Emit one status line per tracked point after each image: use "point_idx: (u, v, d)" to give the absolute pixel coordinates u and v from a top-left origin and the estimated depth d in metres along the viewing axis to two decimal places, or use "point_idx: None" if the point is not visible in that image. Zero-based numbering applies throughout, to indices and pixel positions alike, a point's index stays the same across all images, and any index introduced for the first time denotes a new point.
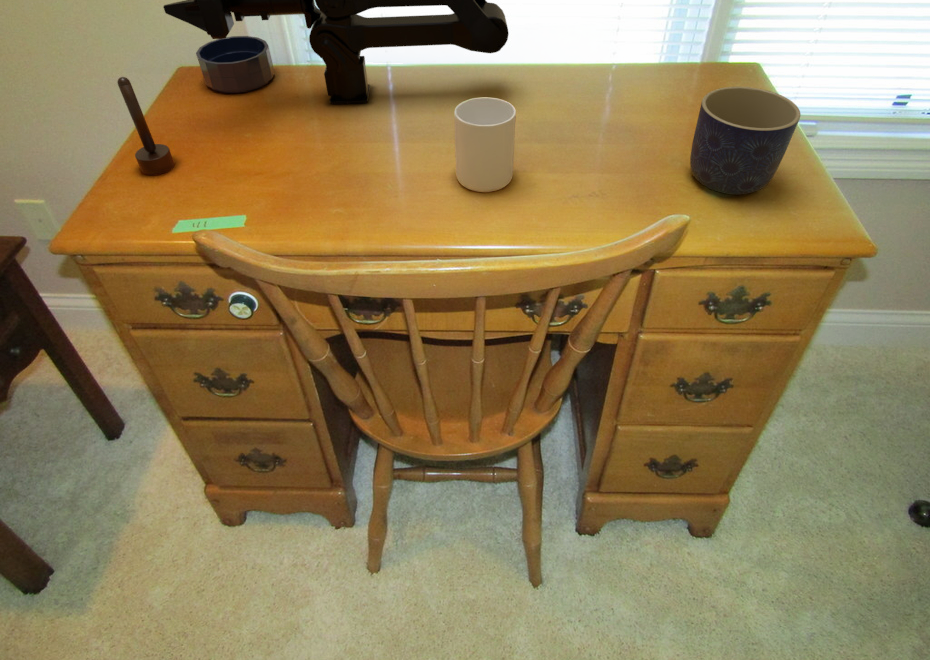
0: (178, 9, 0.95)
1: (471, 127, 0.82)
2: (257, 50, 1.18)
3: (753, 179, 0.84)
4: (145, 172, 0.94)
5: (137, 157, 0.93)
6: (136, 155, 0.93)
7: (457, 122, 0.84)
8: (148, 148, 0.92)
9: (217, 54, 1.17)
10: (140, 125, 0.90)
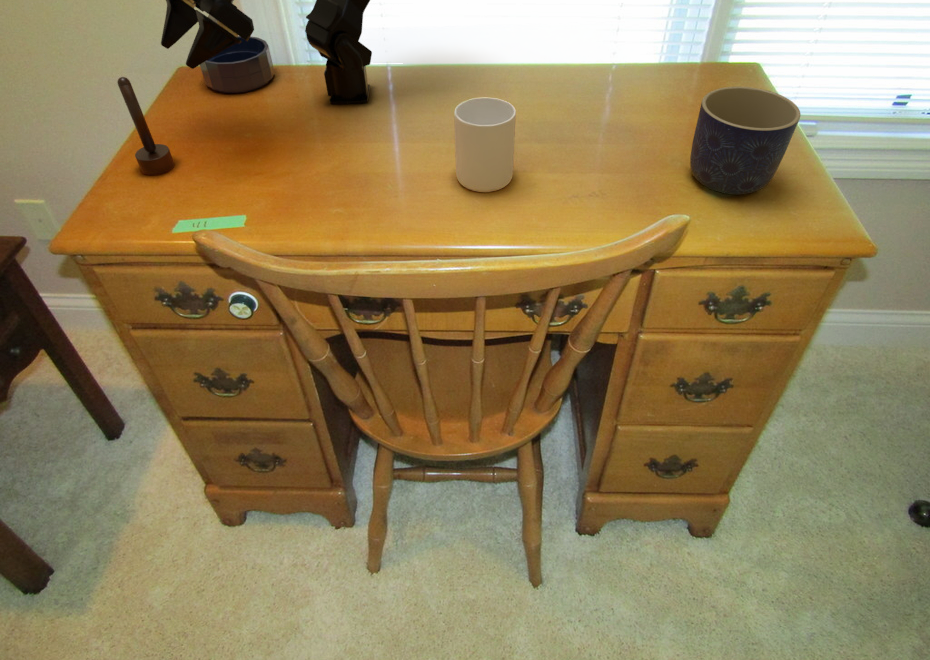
0: (199, 52, 0.86)
1: (471, 127, 0.82)
2: (257, 50, 1.18)
3: (753, 179, 0.84)
4: (145, 172, 0.94)
5: (137, 157, 0.93)
6: (136, 155, 0.93)
7: (457, 122, 0.84)
8: (148, 148, 0.92)
9: (217, 54, 1.17)
10: (140, 125, 0.90)
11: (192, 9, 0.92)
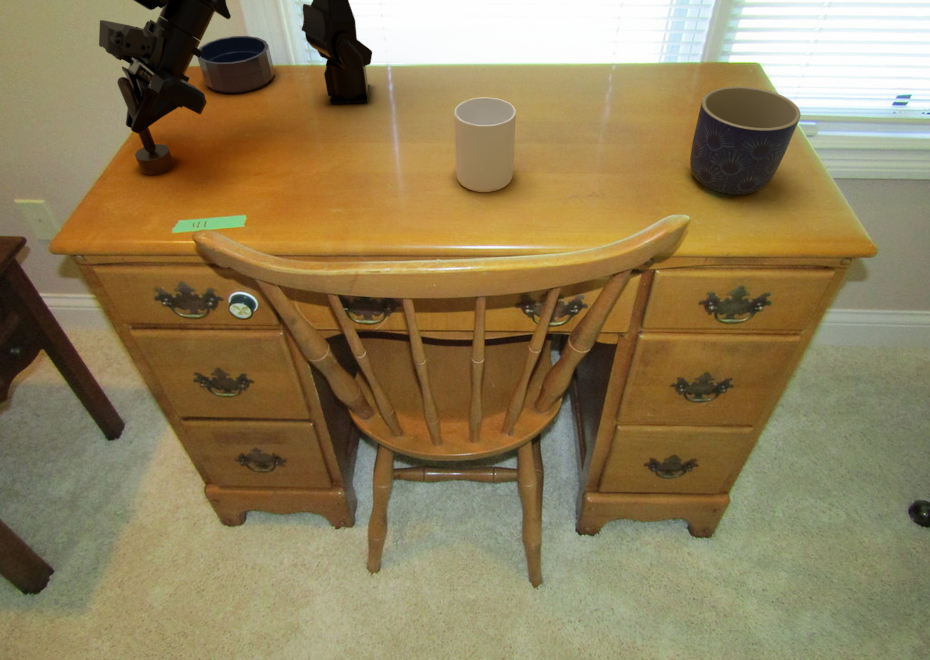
0: (142, 118, 0.89)
1: (471, 127, 0.82)
2: (257, 50, 1.18)
3: (753, 179, 0.84)
4: (145, 172, 0.94)
5: (137, 157, 0.93)
6: (136, 155, 0.93)
7: (457, 122, 0.84)
8: (148, 148, 0.92)
9: (217, 54, 1.17)
10: None
11: None
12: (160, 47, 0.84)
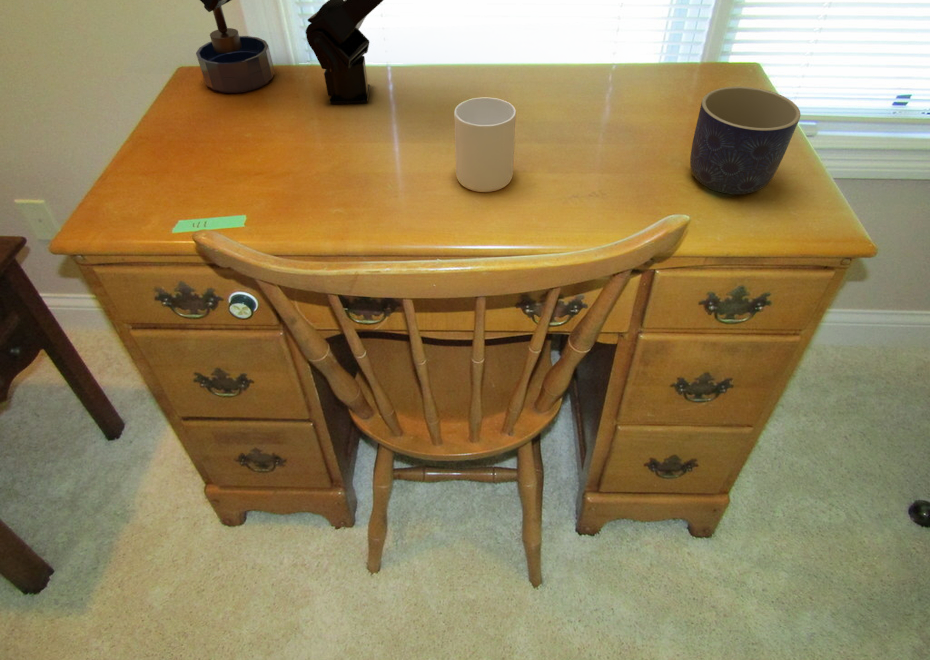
0: None
1: (471, 127, 0.82)
2: (257, 50, 1.18)
3: (753, 179, 0.84)
4: None
5: (212, 32, 1.11)
6: (215, 30, 1.11)
7: (457, 122, 0.84)
8: (218, 28, 1.09)
9: (217, 54, 1.17)
10: None
11: None
12: None
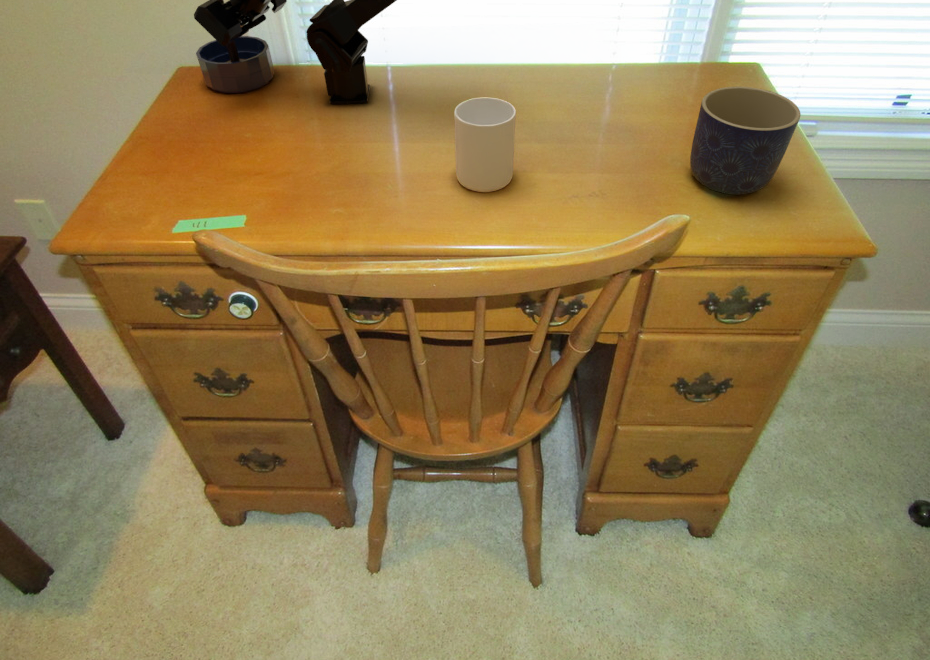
0: None
1: (471, 127, 0.82)
2: (257, 50, 1.18)
3: (753, 179, 0.84)
4: None
5: None
6: (228, 61, 1.14)
7: (457, 122, 0.84)
8: (230, 59, 1.12)
9: (217, 54, 1.17)
10: None
11: None
12: None
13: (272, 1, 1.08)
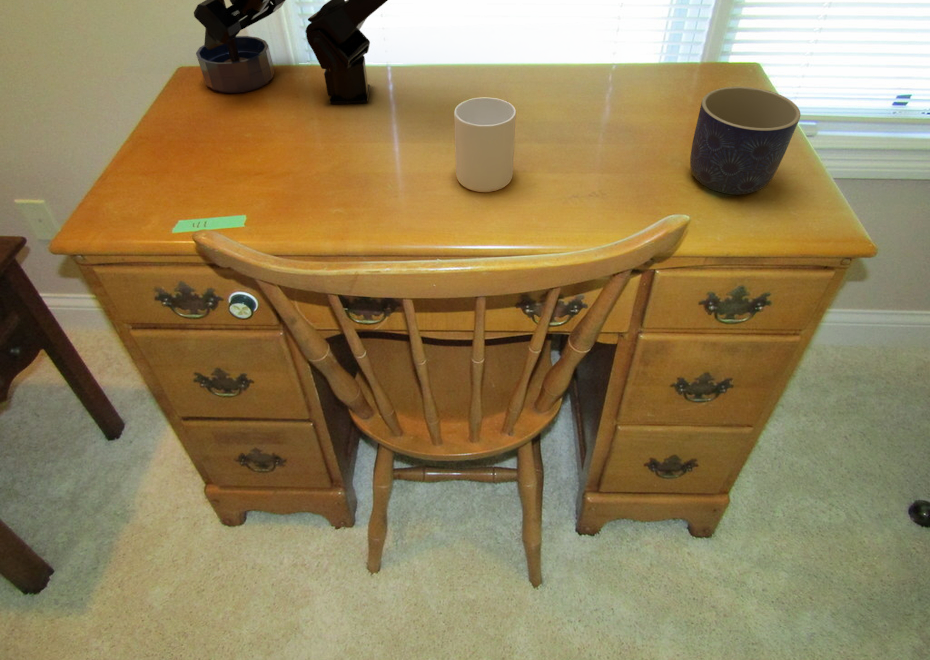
0: (208, 39, 1.06)
1: (471, 127, 0.82)
2: (257, 50, 1.18)
3: (753, 179, 0.84)
4: None
5: (225, 61, 1.15)
6: (228, 60, 1.15)
7: (457, 122, 0.84)
8: (230, 58, 1.13)
9: (217, 54, 1.17)
10: None
11: None
12: None
13: (271, 0, 1.10)
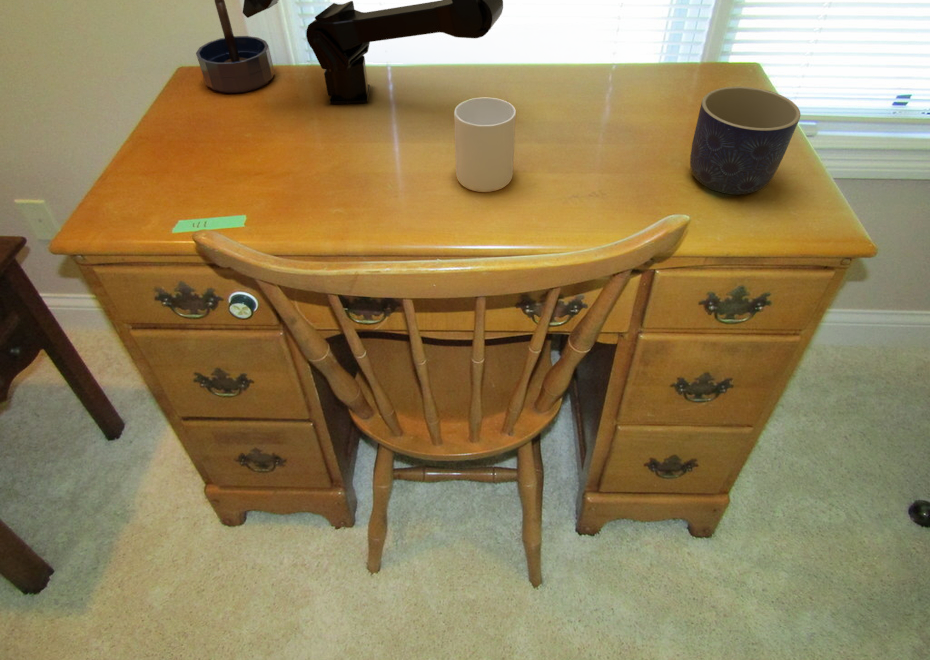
0: (247, 5, 1.00)
1: (471, 127, 0.82)
2: (257, 50, 1.18)
3: (753, 179, 0.84)
4: None
5: (225, 61, 1.15)
6: (228, 60, 1.15)
7: (457, 122, 0.84)
8: (230, 58, 1.13)
9: (217, 54, 1.17)
10: (225, 38, 1.11)
11: None
12: None
13: None
